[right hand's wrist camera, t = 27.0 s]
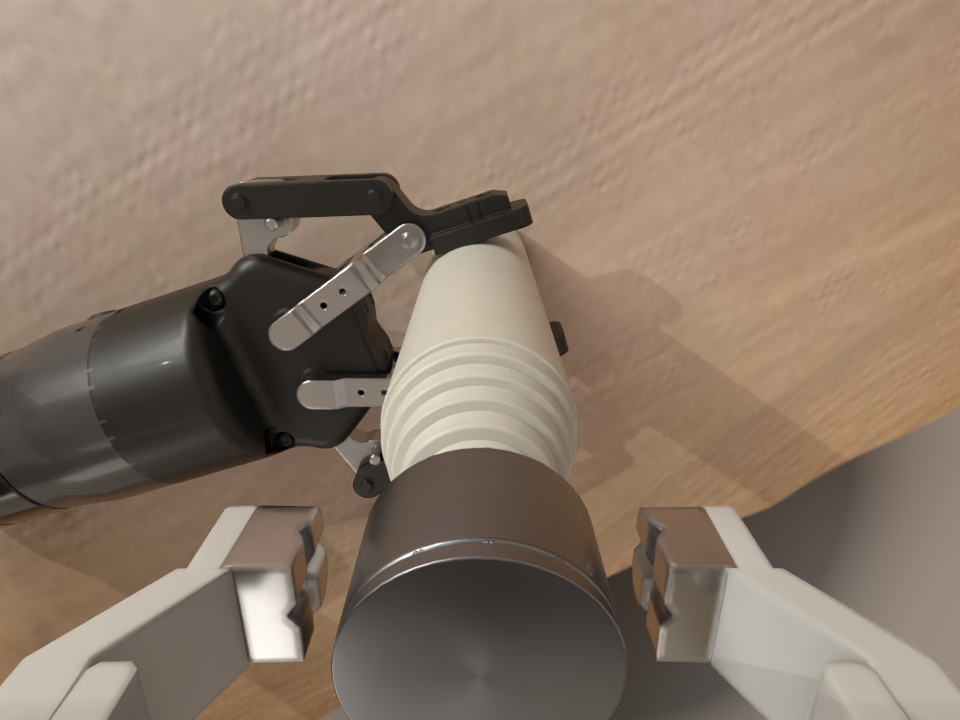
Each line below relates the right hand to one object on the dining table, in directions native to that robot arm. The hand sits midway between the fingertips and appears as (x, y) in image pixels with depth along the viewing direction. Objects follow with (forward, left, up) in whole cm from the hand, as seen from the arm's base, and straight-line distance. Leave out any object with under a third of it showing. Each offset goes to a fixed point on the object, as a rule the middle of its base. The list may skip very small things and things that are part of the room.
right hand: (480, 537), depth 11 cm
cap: (0, 0, 0) cm, 0 cm away
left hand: (-2, +2, -15) cm, 15 cm away
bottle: (0, 0, -21) cm, 21 cm away
